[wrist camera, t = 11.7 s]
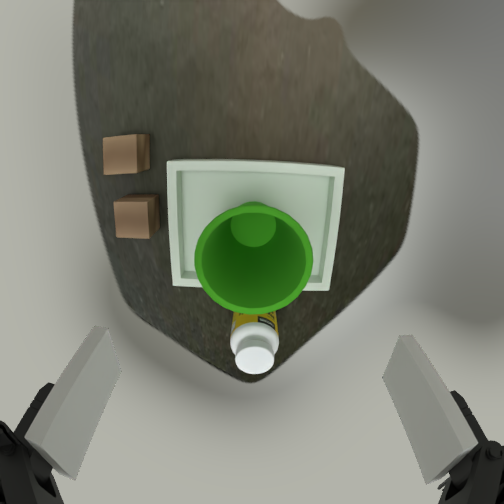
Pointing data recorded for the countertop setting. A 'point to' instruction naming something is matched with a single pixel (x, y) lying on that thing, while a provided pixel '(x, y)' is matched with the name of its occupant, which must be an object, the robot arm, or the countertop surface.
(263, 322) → the supplement bottle
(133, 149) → the walnut block
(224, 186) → the tray
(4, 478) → the robot arm
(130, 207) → the walnut block
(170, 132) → the countertop surface
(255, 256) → the cup
